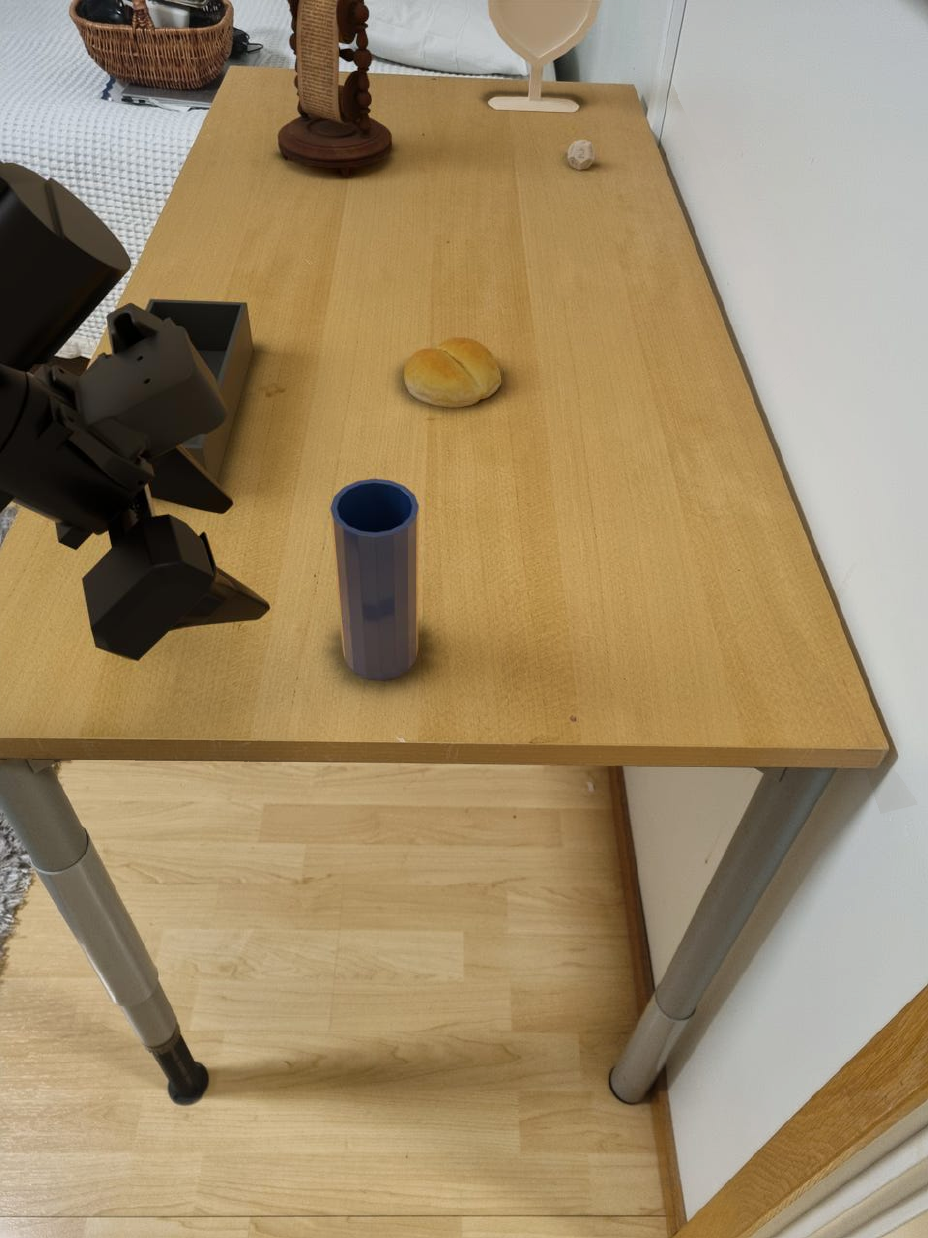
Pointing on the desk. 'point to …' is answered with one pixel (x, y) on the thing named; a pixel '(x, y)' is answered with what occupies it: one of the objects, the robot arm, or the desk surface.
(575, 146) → the game die
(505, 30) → the heart sculpture
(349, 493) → the cup
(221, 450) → the basket
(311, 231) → the desk surface
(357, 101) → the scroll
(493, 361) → the bread roll
